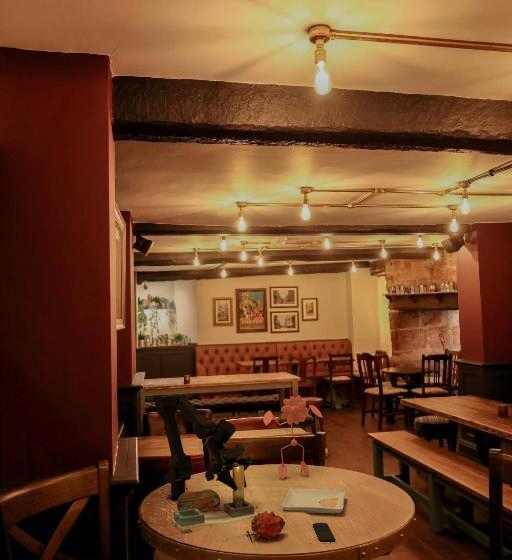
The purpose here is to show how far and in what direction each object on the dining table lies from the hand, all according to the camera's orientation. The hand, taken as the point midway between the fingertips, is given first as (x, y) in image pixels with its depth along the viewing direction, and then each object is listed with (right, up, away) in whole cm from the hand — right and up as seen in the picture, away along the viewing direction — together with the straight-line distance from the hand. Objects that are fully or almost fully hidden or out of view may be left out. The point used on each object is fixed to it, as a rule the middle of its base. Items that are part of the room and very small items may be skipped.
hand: (241, 488), depth 197 cm
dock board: (-8, -9, -4) cm, 13 cm away
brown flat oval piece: (-15, -10, +2) cm, 18 cm away
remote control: (+26, -8, -19) cm, 33 cm away
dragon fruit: (+9, -8, -21) cm, 24 cm away
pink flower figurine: (+22, -13, +45) cm, 52 cm away
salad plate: (+26, -10, +8) cm, 29 cm away
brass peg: (-1, -7, 0) cm, 7 cm away
